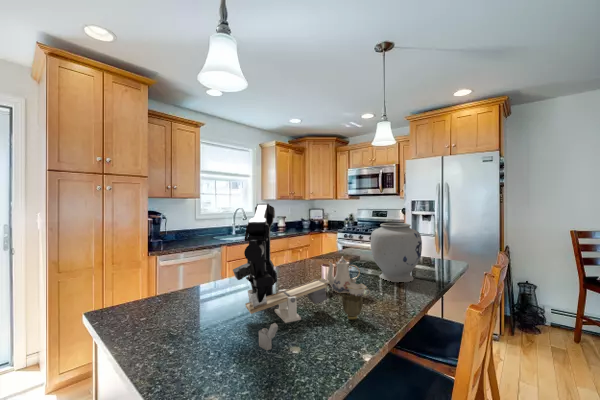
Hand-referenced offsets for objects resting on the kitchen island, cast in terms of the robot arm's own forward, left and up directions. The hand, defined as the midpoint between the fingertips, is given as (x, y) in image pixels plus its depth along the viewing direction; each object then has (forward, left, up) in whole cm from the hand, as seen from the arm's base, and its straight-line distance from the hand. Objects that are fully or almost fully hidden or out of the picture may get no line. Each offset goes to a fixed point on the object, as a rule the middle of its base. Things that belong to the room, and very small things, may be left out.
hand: (257, 299), depth 102 cm
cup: (+13, +31, -8) cm, 35 cm away
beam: (0, +12, -5) cm, 13 cm away
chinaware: (-15, +44, -8) cm, 47 cm away
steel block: (0, 0, -2) cm, 2 cm away
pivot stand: (0, +11, -8) cm, 13 cm away
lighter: (+20, -3, -8) cm, 22 cm away
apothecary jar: (-22, +84, -8) cm, 87 cm away
